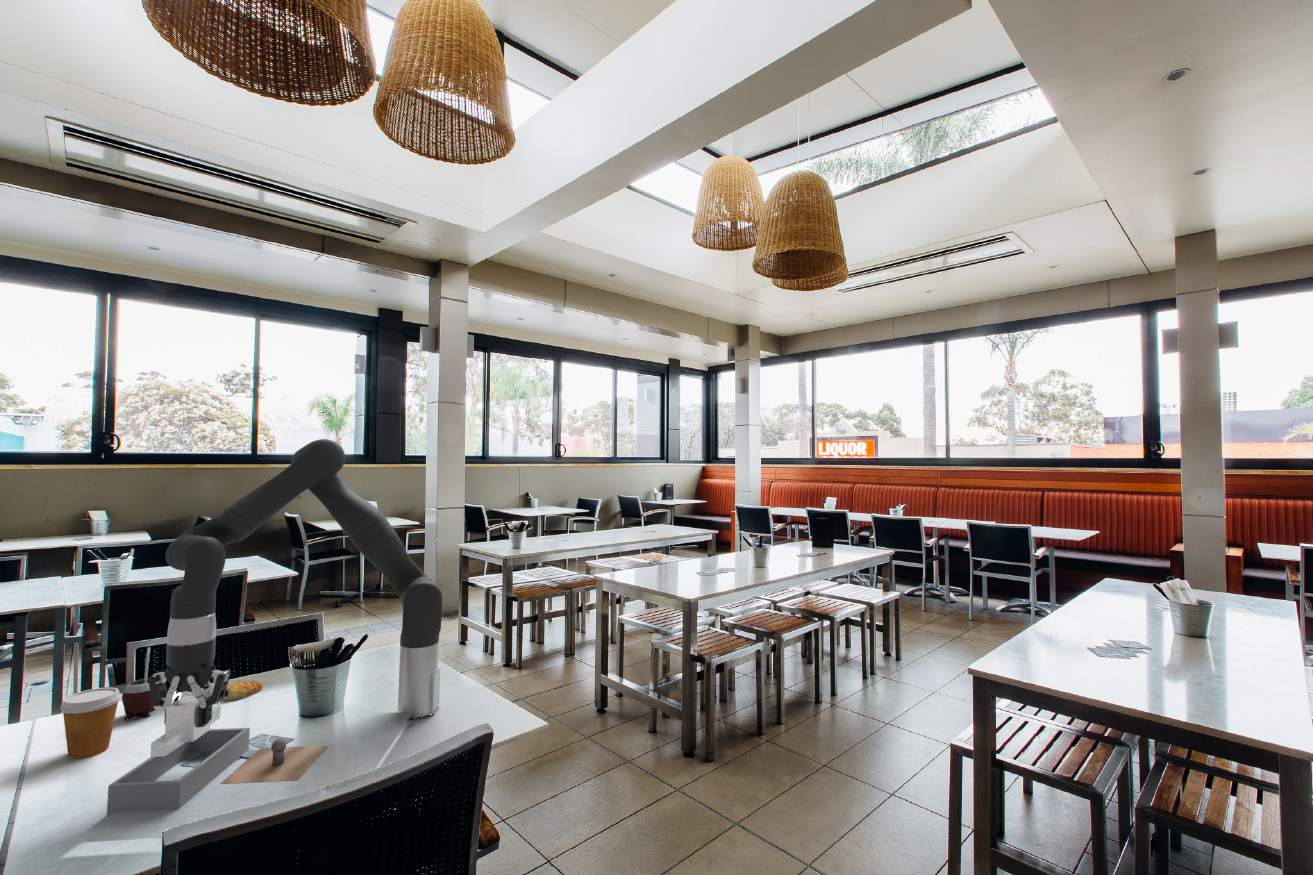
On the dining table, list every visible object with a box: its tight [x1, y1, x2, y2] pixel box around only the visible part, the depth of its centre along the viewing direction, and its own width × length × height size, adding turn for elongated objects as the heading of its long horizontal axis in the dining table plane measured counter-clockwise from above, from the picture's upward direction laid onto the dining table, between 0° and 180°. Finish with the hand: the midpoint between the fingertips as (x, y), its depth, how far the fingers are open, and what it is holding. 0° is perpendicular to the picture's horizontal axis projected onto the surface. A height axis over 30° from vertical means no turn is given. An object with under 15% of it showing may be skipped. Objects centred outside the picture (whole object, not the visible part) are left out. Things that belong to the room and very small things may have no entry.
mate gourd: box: [121, 646, 156, 721], centre depth 145 cm, size 8×8×15 cm
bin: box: [106, 727, 251, 816], centre depth 114 cm, size 22×12×6 cm, turn 7°
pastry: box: [222, 680, 263, 702], centre depth 158 cm, size 9×7×4 cm
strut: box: [149, 695, 221, 758], centre depth 114 cm, size 16×5×7 cm, turn 7°
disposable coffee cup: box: [59, 687, 122, 760], centre depth 126 cm, size 10×10×12 cm
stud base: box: [219, 738, 330, 785], centre depth 120 cm, size 14×14×6 cm
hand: (187, 725), depth 114 cm, fingers closed on strut, 5 cm apart
